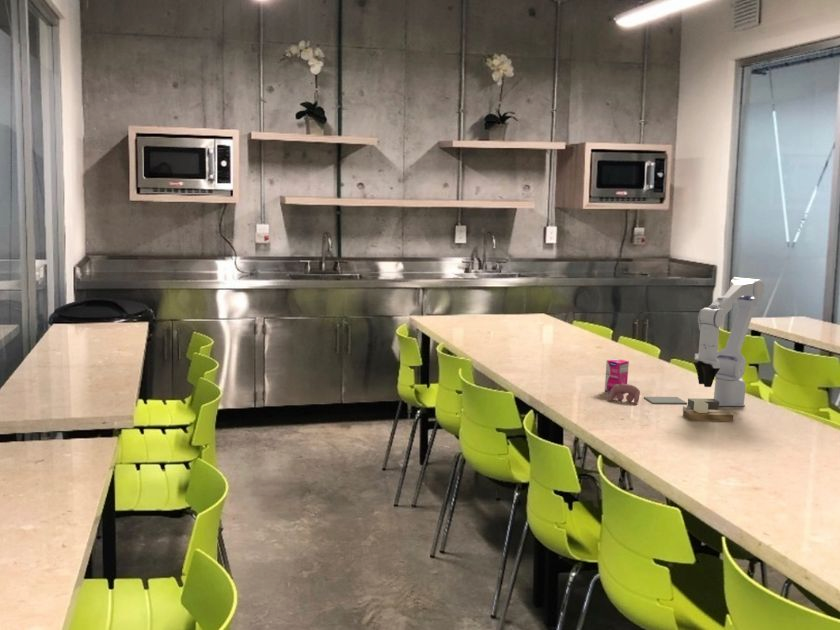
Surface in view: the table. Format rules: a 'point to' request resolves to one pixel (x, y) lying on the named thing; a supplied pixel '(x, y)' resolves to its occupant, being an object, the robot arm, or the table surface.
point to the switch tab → (700, 406)
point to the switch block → (708, 415)
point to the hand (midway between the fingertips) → (704, 385)
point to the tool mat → (665, 400)
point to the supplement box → (616, 373)
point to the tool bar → (712, 403)
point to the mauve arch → (625, 388)
